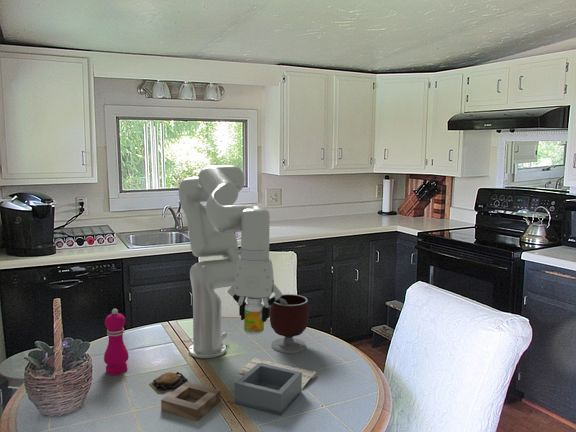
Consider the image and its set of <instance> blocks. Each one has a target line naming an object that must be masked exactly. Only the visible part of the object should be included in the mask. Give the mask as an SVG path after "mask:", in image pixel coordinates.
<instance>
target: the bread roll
mask: <svg viewBox="0 0 576 432" xmlns="http://www.w3.org/2000/svg"><path fill="white" fill-rule="evenodd" d="M185 382H189V380H188V378H186V376H185V375H183V374H182V373H181V372H179V371H177V372H173V371H172V372H171V371H170V372H164V373H163V374H161V375H160V376H158V377H156V378H155V379H153V380H152V382H150V383H149V384H148V385H149V386H150V387H151V388H152V389H153V390H154V391H155V392H156V394H158V395H160V394H164V393H165V394H166V393H168V392H173V391H174V390H176V389H177V388H178V387H180V386H181V385H183V384H184V383H185Z"/></svg>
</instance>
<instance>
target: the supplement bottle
mask: <svg viewBox="0 0 576 432" xmlns="http://www.w3.org/2000/svg"><path fill="white" fill-rule="evenodd" d="M262 302H263V299H262V298H252V297H246V305H245V309H244V320H243V322H244V323H243V327H244V328H243V330H244V333H246V334H248V335H260V334H262V333H264V331H265V322H263V307H264V303H263V304H262Z"/></svg>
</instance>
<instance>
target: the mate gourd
mask: <svg viewBox="0 0 576 432" xmlns="http://www.w3.org/2000/svg"><path fill="white" fill-rule="evenodd" d="M308 302H309V301H308V298H307V297H306V296H303V295H299V294H292V293H290V294H289V293H285V294H283V293H282V296H281V297H280V298H279V299H277V300H276V301H275V302H274V303H273V304H271V305H270V316H269V322H270V323H269V324H270V328H272V330H273V331H274V333H275V334H277V335H278V336H281V337H282V338H281V337H279V338H276V339H274V340H272V341H271V343H270V344H271V345H270V346H271V349H273V350H274V351H276V352H278V353H281V354H282V353H283V354H295V353H300V352H302V351H304V350H305V349H306V348H307V344H306V342H305V341H304V340H302V339H299V338H295V337H297V336H301V335H302V334H303V332H304V331H305V330H306V329H307V326H308V324H309V316H310V308H309V303H308Z"/></svg>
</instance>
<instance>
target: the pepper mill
mask: <svg viewBox="0 0 576 432" xmlns="http://www.w3.org/2000/svg"><path fill="white" fill-rule="evenodd" d="M125 325H126V317H125V316H124V314H122V313H120V312H119V310H118V309H117V308H113V309H112V310H111V313H110V314H109V315H107V316H106V318H105V320H104V326H105V327H106V329H107V330H106V335H107V336H108V344H107V347H106V348H105V352H104V354H103V355H104V356H103V362H104V363H105V364H106V366H105V372H106V374H107V375H110V376H118V375H121V374H124V373H126V372H127V371H128V363H127V361H128V360H129V351H128V349H127V347H126V345H125V343H124V338H123V337H124V333H125V331H124V330H125V328H124V327H125Z"/></svg>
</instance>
